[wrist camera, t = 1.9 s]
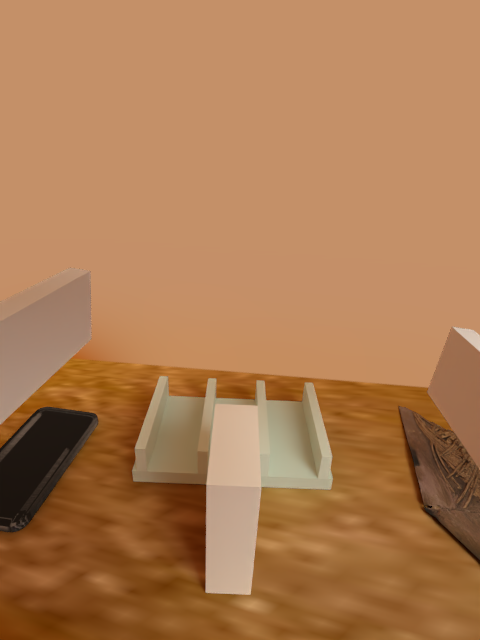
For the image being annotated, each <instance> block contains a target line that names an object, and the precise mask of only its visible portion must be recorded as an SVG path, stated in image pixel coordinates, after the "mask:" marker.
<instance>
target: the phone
mask: <svg viewBox="0 0 480 640" xmlns="http://www.w3.org/2000/svg"><path fill="white" fill-rule="evenodd" d="M97 425H98V418H97V415H96V414H94V413H89V412H82V411H75V410H68V409H61V408H54V407H43V408H40V409H39V410H37V411H36V412H35V413H34V414H33V415H32V416H31V417H30V418H29V419H28V420H27V421H26V422H25V423H24V424H23V425H22V426H21V427H20V428H19V429H18V431H17V432H16V433H15V434H14V435H13V436H12V437H11V438H10V439H9V440H8V441H7V442H6V443H5V444H4V445H3V446H2V447H1V448H0V531H5V532H16V531H19V530H21V529H23V528H24V527H25V526H26V525H27V524H28V523H29V522H30V521H31V519H32V518H33V516H34V515H35V513H36V512H37V511H38V509H39V508H40V506H41V505H42V503H43V502H44V501H45V499H46V498H47V496H48V495H49V493H50V492H51V491H52V490H53V488H54V487H55V485H56V483H57V482H58V481H59V479H60V478H61V476H62V475H63V473H64V472H65V471H66V469H67V468H68V466H69V465H70V463H71V462H72V461H73V459H74V458H75V456H76V455H77V453H78V452H79V451H80V449H81V448H82V446H83V445H84V443H85V442H86V441H87V439H88V438H89V436H90V435H91V433H92V432H93V431H94V429H95V428H96V426H97Z"/></svg>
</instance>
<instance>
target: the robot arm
mask: <svg viewBox="0 0 480 640" xmlns="http://www.w3.org/2000/svg"><path fill="white" fill-rule="evenodd" d="M90 287H91V286H90V271H88V270H81V269H75V268H68V269H66V270H64V271H62V272H60V273H58V274H56V275H54V276H52V277H50V278H48V279H46V280H44V281H42V282H40V283H38V284H36V285H34V286H31V287H30V288H27V289H25V290H23V291H21V292H19V293H17V294H15V295H13V296H11V297H9V298H7V299H5V300H3V301H1V302H0V424H1V423H2V422H3V421H5V420H6V419H7V418H8V417H9V416H10V415H11V414H12V413H13V412H14V411H15V410H16V409H17V408H18V407H19V406H20V405H22V404H23V403H24V402H25V401H26V400H27V399H28V398H29V397H30V396H31V395H32V394H33V393H34V392H35V391H36V390H38V389H39V388H40V387H41V386H42V385H43V384H44V383H45V382H46V381H47V380H48V379H49V378H50V377H51V376H52V375H53V374H55V373H56V372H57V371H58V370H59V369H60V368H61V367H62V366H63V365H64V364H65V363H66V362H67V361H68V360H69V359H71V358H72V357H73V356H74V355H75V354H76V353H77V352H78V351H79V350H80V349H81V348H82V347H83V346H84V345H85V344H86V343H88V342H89V341H90V340H91V288H90ZM427 393H428V394H429V396H430V397H431V399H432V400H433V402H434V403H435V405H436V406H437V408H438V409H439V411H440V412H441V413H442V415H443V416H444V418H445V419H446V421H447V422H448V424H449V425H450V427H451V428H452V430H453V431H454V433H455V434H456V435H457V437H458V438H459V440H460V441H461V443H462V444H463V446H464V447H465V449H466V450H467V452H468V453H469V455H470V456H471V457H472V459H473V460H474V462H475V463H476V465H477V466H478V468H479V469H480V335H479V334H478V333H477V332H475V331H474V330H470V329H463V328H457V327H452V328H451V330H450V333H449V336H448V338H447V341H446V343H445V346H444V349H443V351H442V354H441V357H440V360H439V362H438V365H437V367H436V370H435V372H434V375H433V378H432V380H431V383H430V386H429V388H428V391H427Z"/></svg>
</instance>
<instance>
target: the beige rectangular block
mask: <svg viewBox="0 0 480 640" xmlns="http://www.w3.org/2000/svg"><path fill="white" fill-rule="evenodd" d="M260 495H261V469H260V446H259V423H258V406H255V405H232V404H215V411H214V420H213V429H212V438H211V447H210V456H209V465H208V474H207V483H206V593H223V594H248V595H251V585H252V575H253V565H254V555H255V545H256V535H257V525H258V515H259V505H260Z"/></svg>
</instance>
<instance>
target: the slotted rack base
mask: <svg viewBox="0 0 480 640" xmlns="http://www.w3.org/2000/svg"><path fill="white" fill-rule="evenodd" d="M215 404H232V405H255V406H258V423H259V446H260V469H261V487H277V488H301V489H325V490H331V486H332V481H333V477H332V473H331V469H330V467H331V462H332V453H331V449H330V445H329V442H328V438H327V434H326V430H325V427H324V423H323V419H322V415H321V412H320V408H319V404H318V400H317V397H316V393H315V389H314V385H313V383H307V382H305V385H304V391H303V398H302V402H299V401H277V400H266V392H265V381H262V380H257V382H256V395H255V400H254V399H231V398H216V378H208V384H207V390H206V397H186V396H169V386H168V376H160V377H159V380H158V383H157V386H156V389H155V392H154V394H153V397H152V400H151V403H150V406H149V409H148V412H147V415H146V417H145V420H144V423H143V426H142V429H141V432H140V435H139V438H138V440H137V443H136V446H135V456H136V460H135V463H134V466H133V469H132V475H133V481H135V482H159V483H183V484H206V483H207V474H208V465H209V456H210V447H211V438H212V429H213V420H214V411H215Z"/></svg>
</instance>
